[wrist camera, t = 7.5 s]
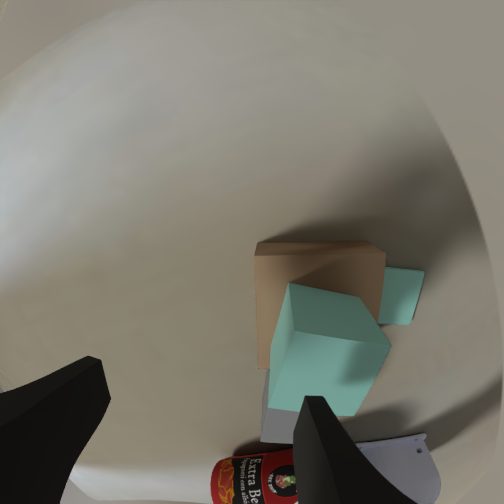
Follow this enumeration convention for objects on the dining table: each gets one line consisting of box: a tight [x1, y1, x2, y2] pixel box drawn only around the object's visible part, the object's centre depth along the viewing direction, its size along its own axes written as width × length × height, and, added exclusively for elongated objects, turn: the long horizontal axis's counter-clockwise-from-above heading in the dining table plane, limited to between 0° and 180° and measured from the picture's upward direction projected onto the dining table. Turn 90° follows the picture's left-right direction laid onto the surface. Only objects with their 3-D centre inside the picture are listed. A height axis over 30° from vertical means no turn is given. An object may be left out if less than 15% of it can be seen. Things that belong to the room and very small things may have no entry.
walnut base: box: [254, 241, 386, 369], centre depth 16 cm, size 7×7×4 cm
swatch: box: [378, 267, 425, 324], centre depth 17 cm, size 4×4×1 cm
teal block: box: [268, 283, 392, 416], centre depth 12 cm, size 4×4×5 cm
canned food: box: [211, 448, 298, 504], centre depth 18 cm, size 8×8×11 cm
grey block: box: [260, 369, 300, 444], centre depth 17 cm, size 4×4×5 cm
